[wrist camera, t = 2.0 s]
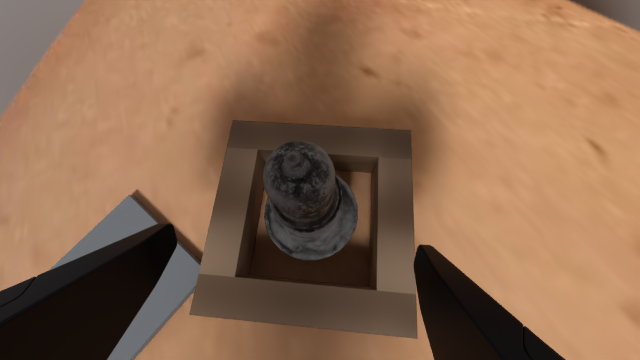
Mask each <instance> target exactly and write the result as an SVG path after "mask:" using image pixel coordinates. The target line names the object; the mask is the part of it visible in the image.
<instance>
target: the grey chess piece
mask: <svg viewBox="0 0 640 360" xmlns="http://www.w3.org/2000/svg"><path fill="white" fill-rule="evenodd" d="M263 182H264V187H265V191H266V193H267V195H268V199H267V202H266V205H265V216H264V218H265V224H266V229H267V231H268V233H269V235H270V237H271V239H272V241H273V242H274V243H275V244H276V245H277V247H278V248H279V249H280V250H282V251H283V252H285V253H286V254H288V255H290V256H291V257H294V258H298V259H301V260H319V259H323V258H326V257H330V256H331V255H333V254H335V253H336V252H338V251H340V250H341V249H342V248H343V247H344V246H345V245H346V243H347V242H348V241H349V240H350V238H351V236H352V234H353V232H354V231H355V228H356V223H357V219H358V210H357V203H356V200H355V197H354V194H353V192H352V191H351V189H350V188H349V186H348V184H347V183H346V182H344V181H343V180H342V179H341V178H340V177H339V176H337V175H335V169H334V166H333V162H332V161H331V159H330V158H329V156H328V154H327V153H326V152H325V151H324V150H323V149H322V148H321V147H320V146H318V145H316V144H314V143H312V142H307V141H292V142H288V143H285V144H283V145H281V146H279V147H278V148H277V149H276V150H275V151H273V152H272V153H271V155H270V156H269V158H268V159H267V161H266V164H265V167H264V171H263Z"/></svg>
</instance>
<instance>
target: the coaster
mask: <svg viewBox="0 0 640 360" xmlns="http://www.w3.org/2000/svg"><path fill="white" fill-rule="evenodd" d="M158 223H160V222H159V221H158V220H157V219H156V218H155V217H154V216H153V215H152V214H151V213H150V212H149V211H148V210H147V209H146V208H145V207H144V206H143V205H142V204H141V203H140V202H139V201H138V200H137V199H136V198H135V197H133V196H130V195H128V196H127V197H126V198H125V199H124V200H123V201H122V202H121V203H120V204H119V205H118V206H117V207H116V208H115V209H114V210H113V211H111V212H110V213H109V214H108V215H107V216H106V217H105V218H104V219H103V220H102V221H101V222H100V223H99V224H98V225H97V226H96V227H95V228H93V229H92V230H91V231H90V232H89V233H88V234H87V235H86V236H85V237H84V238H83V239H82V240H81V241H80V242H79V243H78V244H77V245H75V246H74V247H73V248H72V249H71V250H70V251H69V252H68V253H67V254H66V255H65V256H64V257H63V258H62V259H61V260H60V261H59V262H57V263H56V264H55V265H54V266H53V267H52V268H51V269H54V268H56V267H58V266H61V265H63V264H65V263H68V262H70V261H72V260H75V259H77V258H79V257H82V256H84V255H86V254H89V253H91V252H93V251H95V250H98V249H100V248H102V247H105V246H107V245H109V244H112V243H114V242H116V241H119V240H121V239H123V238H126V237H128V236H130V235H133V234H135V233H137V232H139V231H142V230H144V229H146V228H149V227H151V226H153V225H156V224H158ZM200 265H201V262H200V261H199V260H198V259H197V258H196V257H195V256H194V255H193V254H192V253H191V252H190V251H189V250H188V249H187V248H186V247H185V246H184V245H183V244H182V243H181V242H180V241H178V240H177V247H176V249H175V251H174V253H173V255H172V257H171V259H170V260H169V262H168V264H167V266H166V268H165V270H164V272H163V274H162V276H161V277H160V279H159V281H158V283H157V285H156V286H155V288H154V289H153V291H152V292H151V294H150V295H149V297H148V298H147V300H146V302H145V303H144V305H143V306H142V308H141V309H140V311H139V312H138V314H137V315H136V317H135V318H134V320H133V321H132V323H131V324H130V326H129V327H128V329H127V330H126V332H125V333H124V335H123V336H122V338H121V340H120V341H119V343H118V344H117V346H116V347H115V349H114V350H113V352H112V353H111V355H110V356H109V358H108V359H107V360H134V359H135V358H136V356H137V355H138V354H139V353H140V352H141V351H142V350H143V348H144V347H145V346H146V345H147V344H148V343H149V342H150V341H151V339H152V338H153V337H154V336H155V335H156V334H157V333H158V331H159V330H160V329H161V328H162V327H163V326H164V325H165V323H166V322H167V321H168V320H169V319H170V318H171V317H172V316H173V314H174V313H175V312H176V311H177V310H178V309H179V308H180V306H181V305H182V304H183V303H184V302H185V301H186V300H187V298H188V297H189V296H190V295H191V294H192V293H193V292H194V291H195V287H196V283H197V278H198V274H199V270H200ZM51 269H50V270H51Z"/></svg>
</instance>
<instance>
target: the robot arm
mask: <svg viewBox="0 0 640 360" xmlns="http://www.w3.org/2000/svg"><path fill="white" fill-rule="evenodd" d="M176 247H177V237H176V234H175V230H174V226H173V225H172V224H170V223H158V224H156V225H153V226H151V227H149V228H146V229H144V230H142V231H139V232H137V233H135V234H133V235H130V236H128V237H126V238H123V239H121V240H119V241H116V242H114V243H112V244H109V245H107V246H105V247H102V248H100V249H98V250H95V251H93V252H91V253H89V254H86V255H84V256H82V257H79V258H77V259H75V260H72V261H70V262H68V263H65V264H63V265H61V266H58V267H56V268H54V269H51V270H49V271H47V272H44V273H42V274H40V275H38V276H37V277H33V278H30V279H28V280H26V281H23V282H21V283H19V284H17V285H14V286H12V287H9V288H7V289H5V290H2V291H0V360H107V359H108V358H109V356H110V355H111V353H112V352H113V350H114V349H115V347H116V346H117V344H118V343H119V341H120V340H121V338H122V336H123V335H124V333H125V332H126V330H127V329H128V327H129V326H130V324H131V323H132V321H133V320H134V318H135V317H136V315H137V314H138V312H139V311H140V309H141V308H142V306H143V305H144V303H145V302H146V300H147V298H148V297H149V295H150V294H151V292H152V291H153V289H154V288H155V286H156V285H157V283H158V281H159V279H160V277H161V276H162V274H163V272H164V270H165V268H166V266H167V264H168V262H169V260H170V259H171V257H172V255H173V253H174V251H175V249H176ZM413 267H414V274H415V280H416V286H417V292H418V298H419V304H420V310H421V314H422V318H423V321H424V325H425V328H426V332H427V335H428V339H429V342H430V346H431V349H432V353H433V357H434V360H565V359H564V358H563V357H562V356H560V355H559V354H558V353H557V352H555V351H554V350H553V349H552V348H551V347H549V346H548V345H547V344H546V343H545V342H543V341H542V340H541V339H540V338H539V337H537V336H536V335H535V334H534V333H533V332H532V331H530V330H529V329H528V328H527V327H526V326H523V324H522V323H521V322H520V321H519V320H518V319H516V318H515V317H514V316H513V315H512V314H511V313H509V312H508V311H507V310H506V309H505V308H504V307H502V306H501V305H500V304H499V303H498V302H497V301H495V300H494V299H493V298H492V297H491V296H490V295H488V294H487V293H486V292H485V291H484V290H483V289H481V288H480V287H479V286H478V285H477V284H476V283H474V282H473V281H472V280H471V279H470V278H469V277H467V276H466V275H465V274H464V273H463V272H462V271H461V270H459V269H458V268H457V267H456V266H455V265H454V264H452V263H451V262H450V261H449V260H448V259H447V258H445V257H444V256H443V255H442V254H441V253H440V252H438V251H437V250H436V249H435V248H434V247H432V246H431V245H419V246H418V248H417V252H416V255H415V259H414V265H413Z"/></svg>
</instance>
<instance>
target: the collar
mask: <svg viewBox="0 0 640 360" xmlns="http://www.w3.org/2000/svg"><path fill="white" fill-rule="evenodd" d="M292 141H307V142H312V143H314V144H316V145H318V146H320V147H321V148H322V149H323V150H324V151H325V152H326V153H327V154H328V156H329V158H330V159H331V161H332V162H333V166H334V169H335V170H341V171H356V172H371V173H372V185H371V230H370V275H369V287H365V286H354V285H343V284H333V283H322V282H312V281H301V280H290V279H280V278H269V277H259V276H249V275H250V269H251V262H252V256H253V250H254V244H255V238H256V232H257V226H258V220H259V214H260V208H261V201H262V195H263V189H264V182H263V171H264V167H265V164H266V161H267V159H268V158H269V156H270V155H271V153H272V152H273V151H275V150H276V149H277V148H278V147H279V146H281V145H283V144H285V143H288V142H292ZM414 259H415V245H414V214H413V183H412V151H411V130H395V129H377V128H360V127H342V126H325V125H307V124H290V123H272V122H255V121H237V120H233V122H232V127H231V131H230V136H229V140H228V145H227V149H226V154H225V158H224V163H223V167H222V171H221V176H220V180H219V185H218V189H217V194H216V198H215V203H214V207H213V212H212V216H211V220H210V225H209V229H208V234H207V238H206V243H205V247H204V252H203V256H202V261H201V265H200V270H199V274H198V278H197V283H196V287H195V292H194V296H193V301H192V305H191V310H190V314H189V315H197V316H206V317H216V318H225V319H235V320H244V321H254V322H263V323H273V324H282V325H292V326H301V327H311V328H320V329H330V330H339V331H349V332H358V333H368V334H377V335H387V336H396V337H406V338H415V339H417V307H416V280H415V274H414V267H413V265H414Z"/></svg>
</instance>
